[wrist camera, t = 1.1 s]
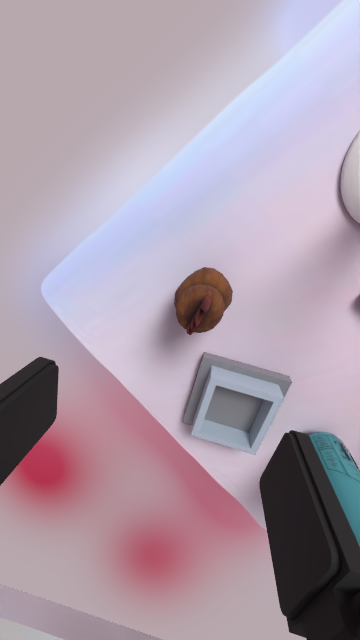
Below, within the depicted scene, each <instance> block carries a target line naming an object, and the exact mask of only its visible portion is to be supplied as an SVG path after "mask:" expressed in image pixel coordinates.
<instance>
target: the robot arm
mask: <svg viewBox="0 0 360 640" xmlns="http://www.w3.org/2000/svg"><path fill="white" fill-rule="evenodd" d="M57 392H58V366H57V365H56V364H55V361H53V360H49V359H46V358H43V357H39V358H37V359H35V360H34V361H32V362H31V363H30V364H28V365H27V366H25V367H24V368H22V369H21V370H20V371H18V372H17V373H15V374H14V375H13V376H11V377H10V378H8V379H7V380H5V381H4V382H3V383H1V384H0V485H1V484H2V483H3V482H4V481H5V479H6V478H7V477H8V476H9V475H10V473H11V472H12V471H13V470H14V469H15V468H16V466H17V465H18V464H19V463H20V462H21V461H22V459H23V458H24V457H25V456H26V455H27V453H28V452H29V451H30V450H31V449H32V448H33V446H34V445H35V444H36V443H37V442H38V440H39V439H40V438H41V437H42V436H43V435H44V433H45V432H46V431H47V430H48V429H49V428H50V426H51V425H52V424H53V422H54V421H55V419H56V415H57ZM260 492H261V498H262V503H263V509H264V515H265V521H266V527H267V533H268V538H269V544H270V550H271V556H272V562H273V568H274V574H275V580H276V585H277V591H278V597H279V603H280V608H281V611H282V613H283V615H284V616H286V617H287V622H288V627H289V632H290V633H293V634H296V635H299V636H302V637H305V638H307V640H360V546H359V544H358V541H357V539H356V537H355V535H354V533H353V530H352V528H351V526H350V524H349V522H348V520H347V517H346V515H345V513H344V511H343V509H342V506H341V504H340V502H339V500H338V498H337V495H336V493H335V491H334V489H333V487H332V484H331V482H330V480H329V478H328V476H327V473H326V471H325V469H324V467H323V465H322V463H321V460H320V458H319V456H318V454H317V452H316V449H315V447H314V445H313V443H312V441H311V438H310V437H309V436H308V435H307V434H304V433H300V432H297V431H293V430H291V431H290V432H289V433H285V434H284V436H283V438H282V439H281V441H280V443H279V445H278V447H277V449H276V450H275V452H274V454H273V456H272V458H271V459H270V461H269V463H268V465H267V467H266V469H265V470H264V472H263V474H262V476H261V478H260ZM0 640H162V639H159V638H156V637H154V636H151V635H148V634H144V633H142V632H139V631H136V630H133V629H130V628H127V627H124V626H122V625H118V624H116V623H113V622H110V621H107V620H104V619H101V618H98V617H95V616H93V615H90V614H87V613H84V612H81V611H78V610H75V609H72V608H69V607H66V606H63V605H61V604H58V603H55V602H52V601H49V600H46V599H43V598H40V597H37V596H34V595H31V594H28V593H25V592H22V591H19V590H16V589H13V588H10V587H7V586H4V585H1V584H0Z"/></svg>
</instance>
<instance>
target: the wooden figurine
mask: <svg viewBox="0 0 360 640" xmlns="http://www.w3.org/2000/svg"><path fill="white" fill-rule="evenodd" d="M232 292H233V291H232V289H231V286H230V284H229V282H228V281H227V279H226V278H225V277H224V276H223V274H222V273H220V272H218V271H217V270H215V269H213V268H205V267H204V268H202V269H200V270H197V271H195V272H194V273H193V274H191V275H190V276H189V277H187V278H186V279H185V280H184V281H183V282H182V284H181V285H180V286H179V288H178V289H177V291H176V293H175V302H174V304H175V307H176V315H177V319H178V322H179V323H180V324H181V325H182V326H183V327H184V328H185V329H187V333H188V334H189V335H191V334H192V333H193V332H196V333H201V332H206V331H209V330H211V329H213V328H214V327H215V326H216V325H217V324H218V323H219V322H220V320H221V318H222V316H223V313H224V311H225V310H226V309H227V307H228V306H229V305H230V304H231V301H232Z"/></svg>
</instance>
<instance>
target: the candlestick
mask: <svg viewBox="0 0 360 640" xmlns="http://www.w3.org/2000/svg"><path fill="white" fill-rule="evenodd" d="M340 186H341V195H342V199H343V202H344V205H345V207H346V209H347V211H348V212H349V214H350V215H351V216H352V218H353V219H354V220H356V221H357V222H358V223H359V224H360V132H359V133H358V135H357V136H356V138H355V139H354V141H353V143H352V144H351V146H350V148H349V150H348V152H347V155H346V157H345V160H344V164H343V167H342V172H341V182H340Z"/></svg>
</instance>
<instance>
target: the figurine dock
mask: <svg viewBox="0 0 360 640" xmlns="http://www.w3.org/2000/svg"><path fill="white" fill-rule="evenodd" d="M291 383H292V382H291V379H290V377H289V376H286V375H283V374H279V373H276V372H272V371H269V370H265V369H262V368H258V367H255V366H251V365H248V364H244V363H241V362H237V361H234V360H230V359H227V358H223V357H220V356H216V355H213V354H209V353H206V352H204V354H203V358H202V361H201V364H200V367H199V370H198V374H197V377H196V380H195V383H194V386H193V389H192V393H191V396H190V399H189V402H188V405H187V409H186V412H185V415H184V419H183V423H186V424H189V425H192V432H191V436H195V437H198V438H201V439H204V440H208V441H211V442H214V443H217V444H221V445H224V446H227V447H230V448H233V449H237V450H240V451H243V452H246V453H250V454H253V455H256V453H257V451H258V449H259V447H260V445H261V443H262V441H263V439H264V437H265V435H266V433H267V431H268V429H269V427H270V425H271V423H272V421H273V419H274V417H275V415H276V413H277V411H278V409H279V407H280V406H281V404H282V402H283V400H284V397H285V395H286V393H287V391H288V389H289V387H290V385H291Z"/></svg>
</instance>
